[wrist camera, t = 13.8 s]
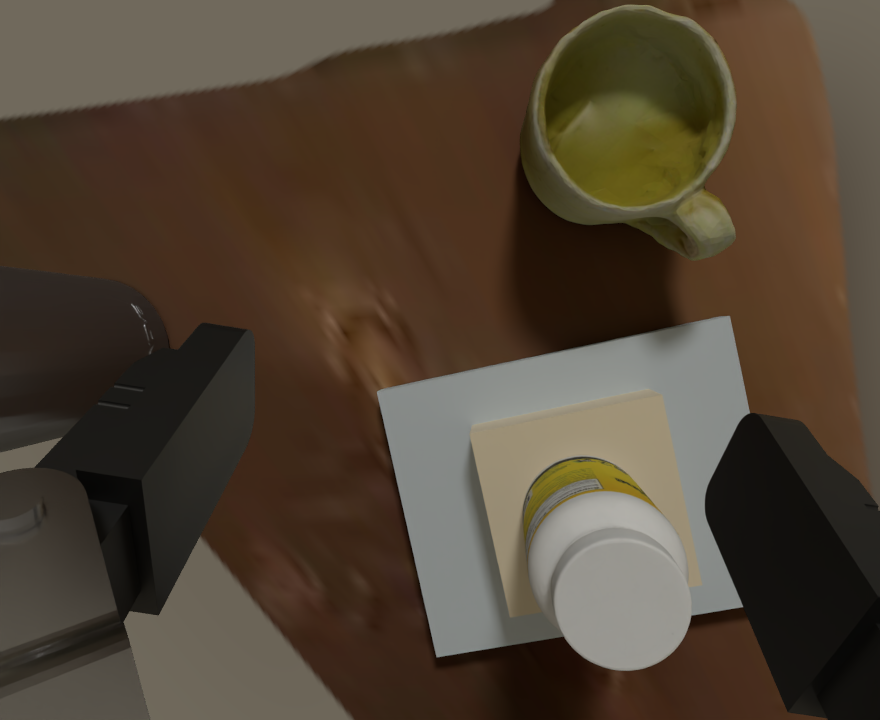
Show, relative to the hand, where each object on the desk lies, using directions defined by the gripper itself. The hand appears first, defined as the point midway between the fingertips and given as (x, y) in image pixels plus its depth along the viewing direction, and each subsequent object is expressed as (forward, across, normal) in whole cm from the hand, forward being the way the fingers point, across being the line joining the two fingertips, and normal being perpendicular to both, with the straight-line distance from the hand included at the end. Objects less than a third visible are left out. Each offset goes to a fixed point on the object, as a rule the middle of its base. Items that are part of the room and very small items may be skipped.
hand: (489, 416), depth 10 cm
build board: (+20, -9, +18) cm, 28 cm away
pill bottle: (+16, -8, +16) cm, 24 cm away
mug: (+28, -8, +2) cm, 29 cm away
